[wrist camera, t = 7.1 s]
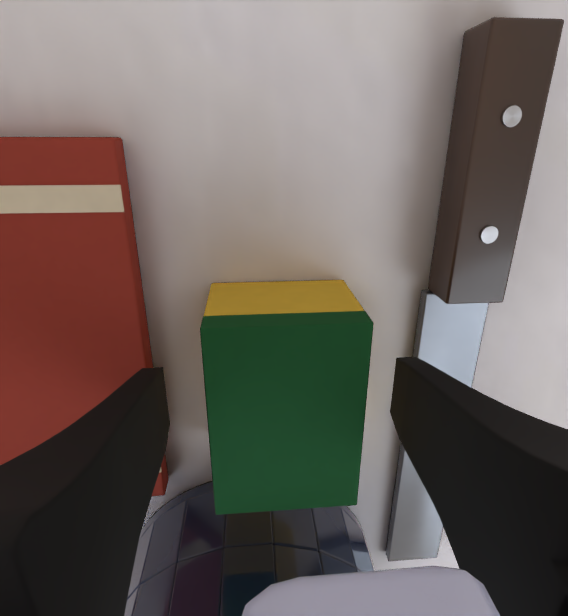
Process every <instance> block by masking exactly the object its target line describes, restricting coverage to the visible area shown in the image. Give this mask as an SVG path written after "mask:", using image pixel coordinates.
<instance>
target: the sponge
mask: <svg viewBox="0 0 568 616" xmlns="http://www.w3.org/2000/svg"><path fill="white" fill-rule="evenodd" d="M372 333H373V322H372V320H371V319H370V317H369V316H368V315H367V313H366V312H365V311H364V309H363V308H362V306H361V305H360V304H359V302H358V301H357V299H356V298H355V296H354V295H353V293H352V292H351V291H350V289H349V288H348V286H347V285H346V283H345V282H344V280H316V281H276V282H237V283H212V284H211V287H210V291H209V296H208V300H207V304H206V308H205V312H204V316H203V320H202V324H201V328H200V335H201V347H202V359H203V371H204V383H205V395H206V407H207V419H208V431H209V443H210V455H211V467H212V479H213V491H214V503H215V513H216V515H221V514H235V513H249V512H264V511H278V510H292V509H307V508H321V507H335V506H350V505H356V504H357V496H358V485H359V474H360V464H361V453H362V442H363V431H364V420H365V409H366V398H367V387H368V377H369V366H370V355H371V344H372Z"/></svg>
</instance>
